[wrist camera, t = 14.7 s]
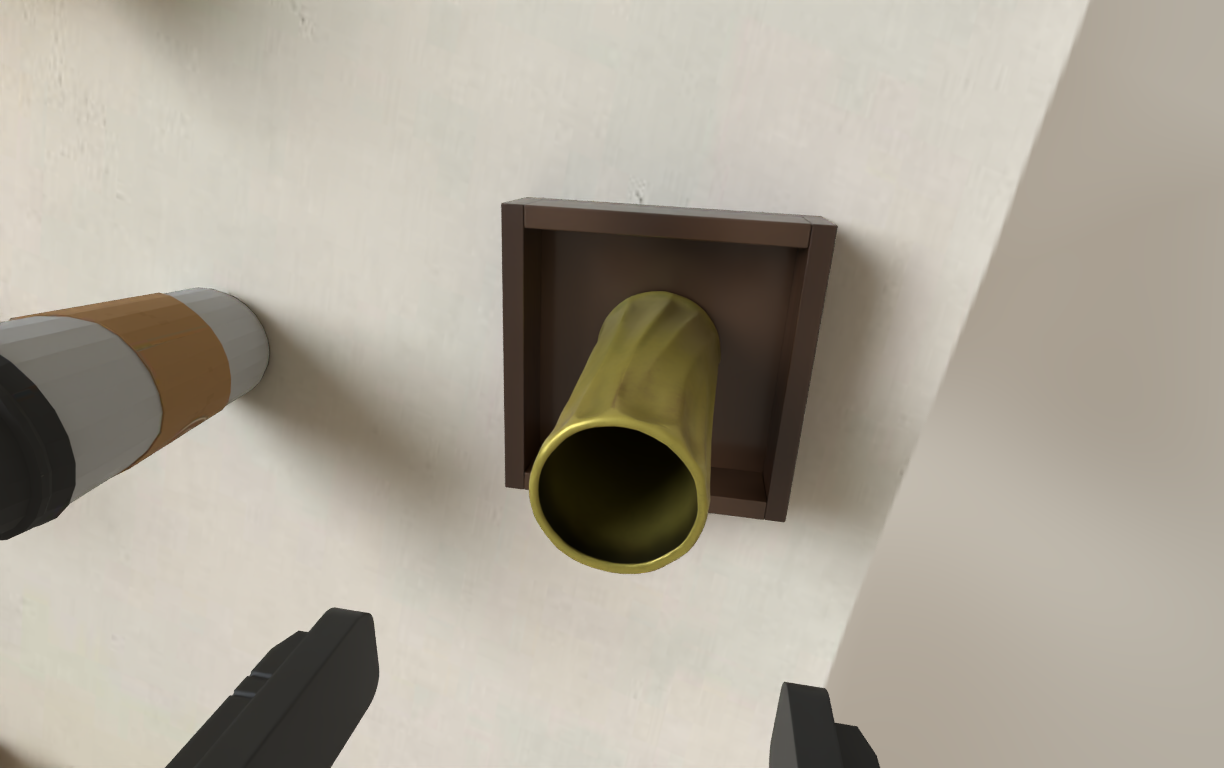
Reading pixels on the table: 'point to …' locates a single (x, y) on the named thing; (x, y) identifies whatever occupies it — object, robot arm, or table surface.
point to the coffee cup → (113, 390)
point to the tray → (687, 266)
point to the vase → (634, 440)
